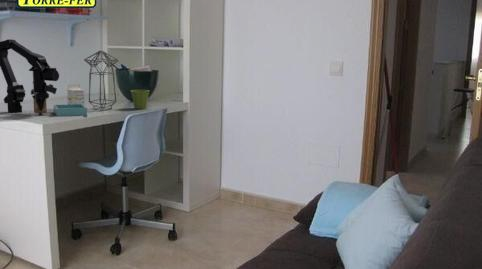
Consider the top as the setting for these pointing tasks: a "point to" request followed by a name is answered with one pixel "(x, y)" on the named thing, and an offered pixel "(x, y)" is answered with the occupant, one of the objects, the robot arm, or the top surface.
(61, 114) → the bin
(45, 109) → the taped shipping carton
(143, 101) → the plant pot
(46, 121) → the top surface
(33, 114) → the stud plate
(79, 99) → the ink cartridge box
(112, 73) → the geometric lantern
